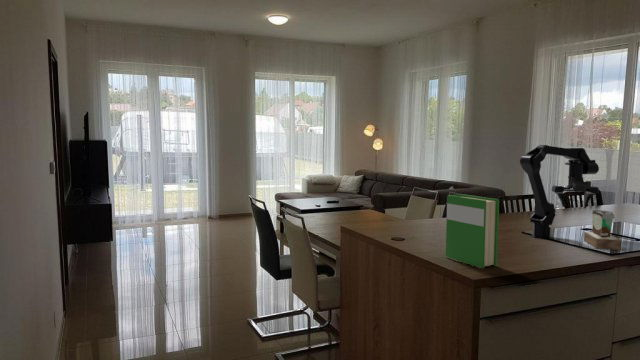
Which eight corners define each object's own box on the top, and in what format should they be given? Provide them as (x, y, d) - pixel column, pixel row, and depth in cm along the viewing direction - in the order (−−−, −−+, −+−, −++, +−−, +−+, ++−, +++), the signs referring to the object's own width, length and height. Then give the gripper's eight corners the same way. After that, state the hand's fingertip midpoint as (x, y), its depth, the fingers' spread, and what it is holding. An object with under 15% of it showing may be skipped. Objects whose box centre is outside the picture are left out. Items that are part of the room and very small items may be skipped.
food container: (618, 238, 185) (620, 214, 184) (602, 237, 187) (603, 214, 186) (606, 232, 197) (607, 210, 196) (591, 232, 199) (592, 209, 198)
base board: (596, 248, 186) (596, 238, 185) (583, 241, 200) (584, 231, 200) (620, 249, 184) (621, 239, 183) (606, 241, 198) (606, 232, 198)
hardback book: (497, 266, 160) (499, 199, 158) (482, 269, 156) (484, 200, 154) (460, 255, 175) (461, 194, 173) (445, 257, 172) (447, 195, 170)
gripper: (558, 175, 205) (557, 209, 207) (604, 176, 201) (602, 210, 202) (552, 173, 216) (550, 206, 217) (595, 174, 212) (593, 207, 213)
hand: (574, 207), depth 212 cm, fingers open, 9 cm apart
